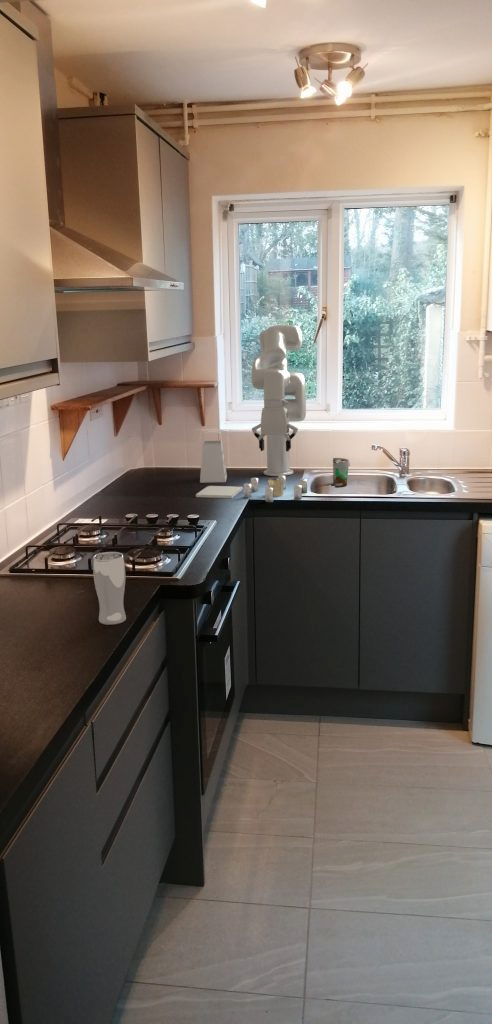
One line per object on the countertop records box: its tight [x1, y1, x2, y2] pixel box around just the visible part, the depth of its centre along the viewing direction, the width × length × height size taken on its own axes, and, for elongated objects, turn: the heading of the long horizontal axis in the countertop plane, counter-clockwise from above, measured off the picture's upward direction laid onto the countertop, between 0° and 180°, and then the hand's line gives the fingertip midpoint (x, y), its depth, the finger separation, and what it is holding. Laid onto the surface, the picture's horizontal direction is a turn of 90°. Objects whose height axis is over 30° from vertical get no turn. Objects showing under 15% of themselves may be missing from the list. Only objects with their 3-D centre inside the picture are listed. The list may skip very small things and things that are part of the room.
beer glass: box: [92, 551, 127, 626], centre depth 182 cm, size 7×7×15 cm
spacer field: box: [243, 476, 308, 503], centre depth 306 cm, size 25×22×5 cm
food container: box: [332, 457, 351, 489], centre depth 319 cm, size 12×6×10 cm, turn 179°
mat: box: [195, 485, 244, 499], centre depth 312 cm, size 16×14×1 cm
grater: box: [199, 430, 228, 483], centre depth 335 cm, size 10×10×20 cm
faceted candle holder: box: [267, 477, 284, 497], centre depth 305 cm, size 6×5×6 cm
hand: (275, 450), depth 302 cm, fingers open, 9 cm apart
